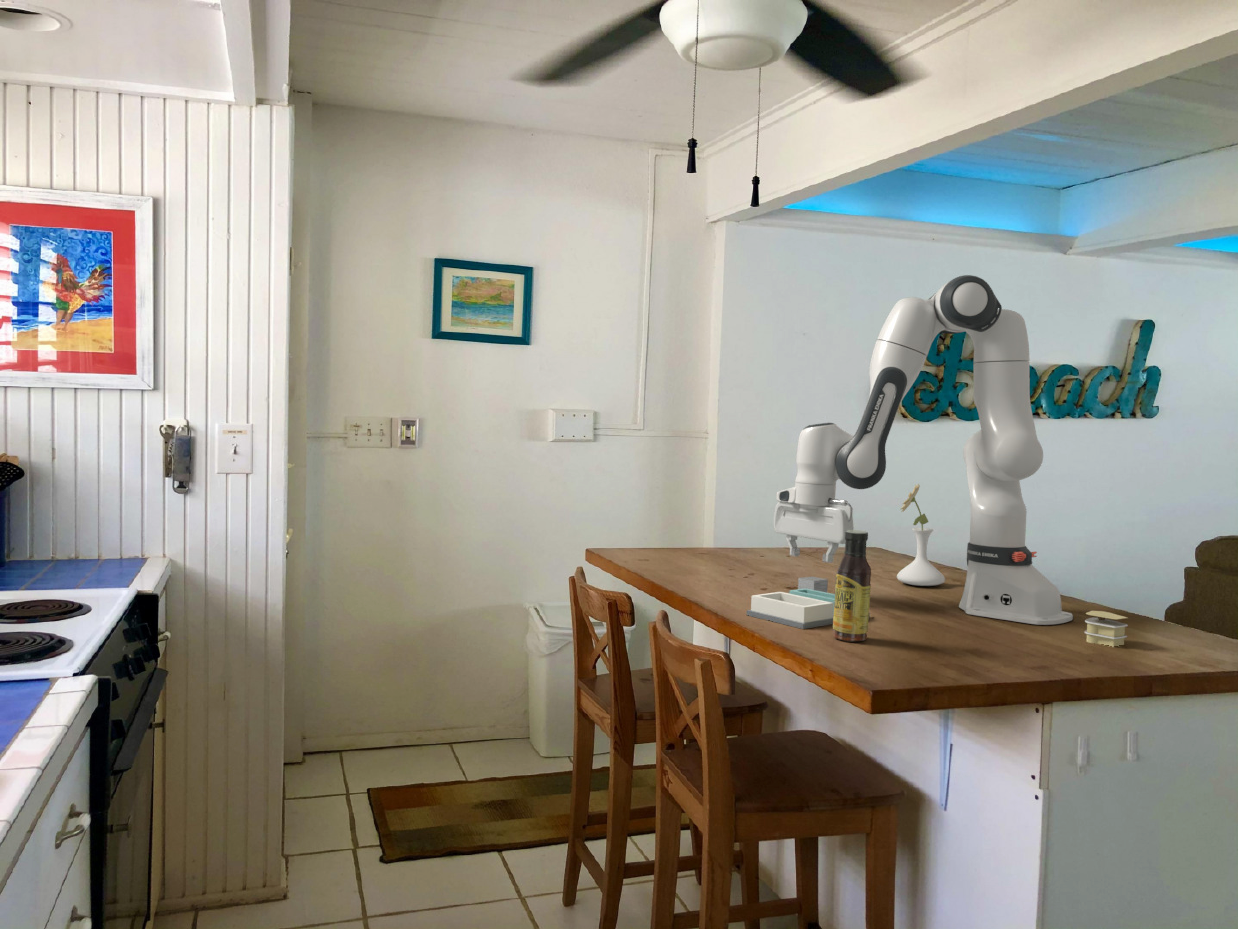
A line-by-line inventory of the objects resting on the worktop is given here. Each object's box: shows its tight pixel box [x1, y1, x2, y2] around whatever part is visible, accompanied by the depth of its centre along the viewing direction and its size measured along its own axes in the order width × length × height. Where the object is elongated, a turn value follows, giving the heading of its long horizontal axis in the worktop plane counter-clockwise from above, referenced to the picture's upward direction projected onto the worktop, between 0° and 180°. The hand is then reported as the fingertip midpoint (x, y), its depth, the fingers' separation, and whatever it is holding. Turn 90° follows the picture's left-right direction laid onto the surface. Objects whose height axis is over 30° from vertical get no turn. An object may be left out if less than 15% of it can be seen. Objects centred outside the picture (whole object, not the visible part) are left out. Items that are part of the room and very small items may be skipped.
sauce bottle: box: [832, 529, 872, 643], centre depth 176 cm, size 6×6×20 cm
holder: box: [746, 588, 871, 630], centre depth 196 cm, size 15×20×4 cm
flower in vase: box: [896, 483, 946, 587], centre depth 237 cm, size 13×11×25 cm
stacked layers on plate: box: [1084, 610, 1128, 648], centre depth 179 cm, size 10×9×6 cm
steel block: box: [797, 576, 829, 593], centre depth 214 cm, size 4×4×5 cm
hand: (810, 559), depth 213 cm, fingers open, 8 cm apart
